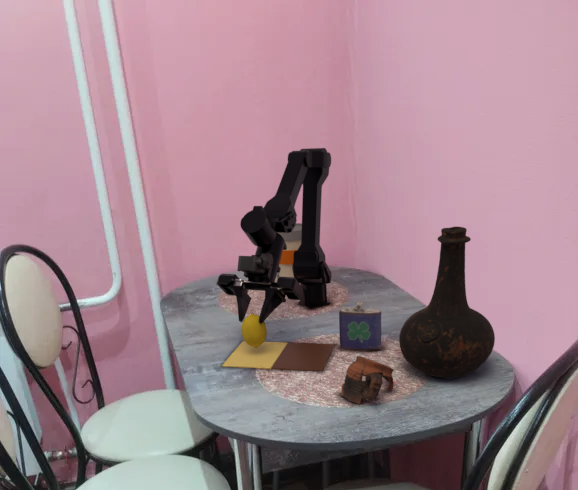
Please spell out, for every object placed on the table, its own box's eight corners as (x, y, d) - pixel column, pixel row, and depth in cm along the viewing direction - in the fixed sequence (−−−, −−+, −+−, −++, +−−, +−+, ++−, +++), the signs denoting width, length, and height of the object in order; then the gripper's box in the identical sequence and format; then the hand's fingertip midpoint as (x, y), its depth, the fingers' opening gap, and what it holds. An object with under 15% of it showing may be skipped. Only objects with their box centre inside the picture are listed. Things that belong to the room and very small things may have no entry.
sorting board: (242, 342, 142) (242, 340, 142) (335, 345, 136) (335, 344, 136) (222, 366, 130) (221, 365, 130) (322, 371, 124) (322, 370, 124)
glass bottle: (382, 374, 121) (381, 233, 109) (429, 345, 133) (433, 215, 120) (463, 397, 110) (473, 243, 98) (507, 363, 121) (521, 222, 109)
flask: (382, 347, 133) (381, 300, 129) (380, 352, 131) (380, 305, 126) (341, 345, 136) (339, 299, 131) (338, 350, 133) (336, 304, 129)
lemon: (269, 351, 132) (266, 316, 128) (244, 354, 131) (240, 319, 128) (267, 341, 137) (263, 308, 133) (242, 344, 136) (238, 311, 133)
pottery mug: (331, 391, 117) (346, 350, 116) (375, 405, 119) (389, 366, 118) (349, 403, 105) (366, 358, 104) (397, 419, 108) (413, 375, 107)
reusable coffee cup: (320, 272, 191) (318, 224, 185) (300, 283, 182) (296, 233, 175) (287, 268, 198) (284, 222, 191) (265, 279, 188) (261, 230, 182)
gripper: (214, 237, 131) (195, 302, 127) (294, 239, 123) (275, 309, 119) (236, 263, 140) (218, 324, 136) (310, 266, 133) (294, 331, 129)
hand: (250, 322), depth 130 cm, fingers closed on lemon, 4 cm apart
